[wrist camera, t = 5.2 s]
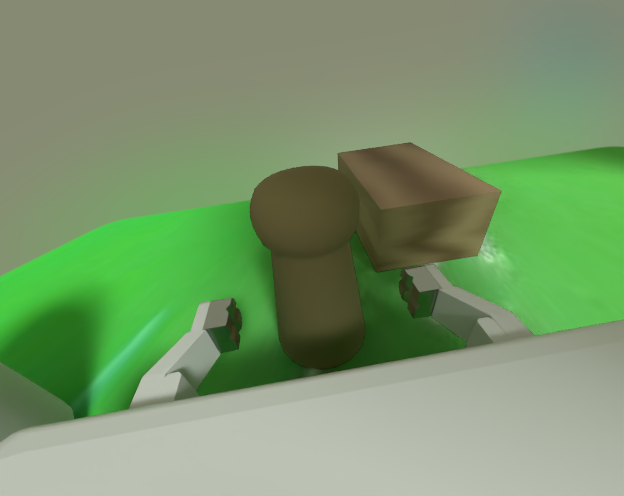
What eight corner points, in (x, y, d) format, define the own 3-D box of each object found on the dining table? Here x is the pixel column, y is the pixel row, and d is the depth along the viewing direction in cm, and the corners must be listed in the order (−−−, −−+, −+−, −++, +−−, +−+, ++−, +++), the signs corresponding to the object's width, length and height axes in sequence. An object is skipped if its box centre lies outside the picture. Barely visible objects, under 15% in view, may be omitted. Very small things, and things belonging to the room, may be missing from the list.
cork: (284, 296, 20) (250, 159, 14) (360, 293, 19) (361, 148, 13) (272, 370, 15) (209, 212, 9) (371, 368, 15) (383, 199, 8)
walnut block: (404, 188, 34) (410, 142, 30) (477, 255, 21) (501, 191, 18) (339, 198, 33) (337, 153, 30) (376, 272, 21) (380, 209, 18)
